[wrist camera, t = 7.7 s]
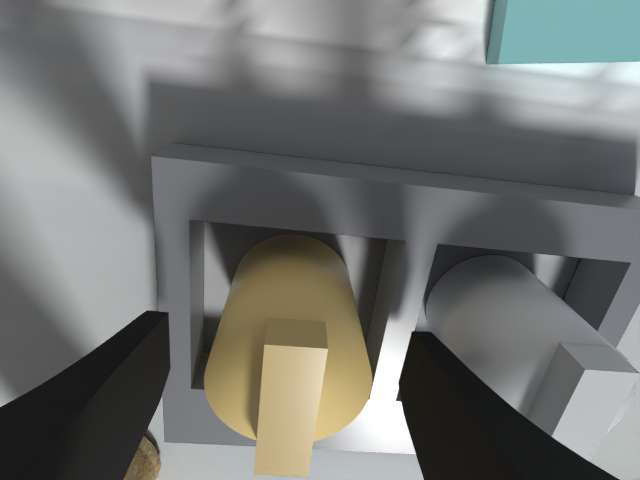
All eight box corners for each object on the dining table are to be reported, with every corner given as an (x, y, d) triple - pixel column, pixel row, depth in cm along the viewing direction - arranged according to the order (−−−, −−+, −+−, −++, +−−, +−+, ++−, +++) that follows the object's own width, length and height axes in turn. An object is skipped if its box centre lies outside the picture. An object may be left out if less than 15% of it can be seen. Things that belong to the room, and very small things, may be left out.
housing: (635, 195, 14) (686, 215, 12) (531, 421, 18) (557, 460, 17) (172, 142, 13) (150, 156, 11) (179, 401, 17) (164, 442, 15)
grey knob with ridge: (553, 260, 15) (699, 373, 9) (515, 353, 17) (620, 494, 11) (440, 250, 15) (526, 362, 9) (414, 345, 16) (472, 488, 11)
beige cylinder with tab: (358, 240, 14) (395, 349, 9) (341, 339, 16) (363, 481, 11) (235, 228, 14) (193, 335, 8) (231, 331, 16) (195, 475, 10)
